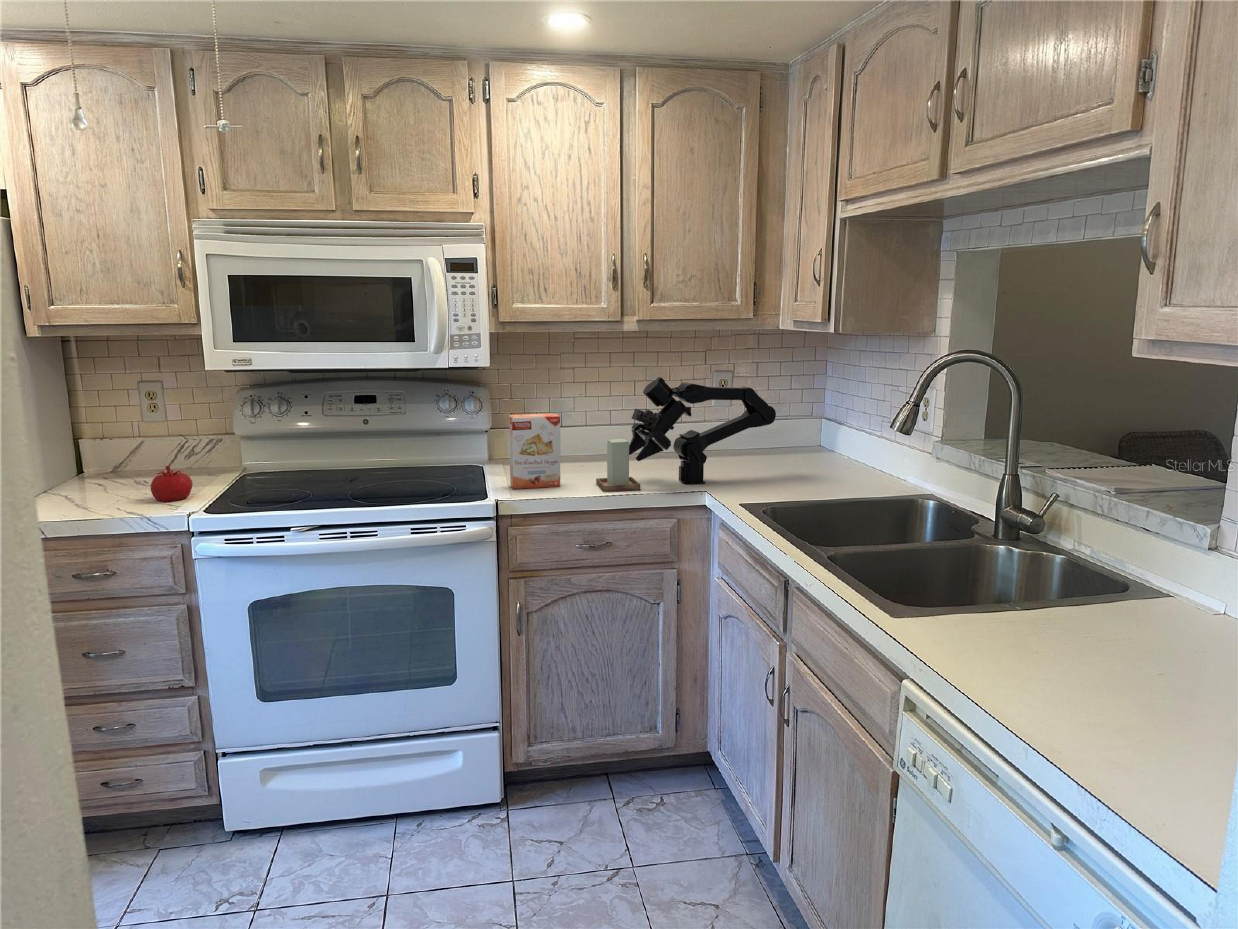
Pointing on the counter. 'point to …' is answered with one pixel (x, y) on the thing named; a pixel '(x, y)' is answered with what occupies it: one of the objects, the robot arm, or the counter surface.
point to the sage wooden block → (617, 462)
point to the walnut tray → (605, 487)
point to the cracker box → (534, 450)
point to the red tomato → (171, 486)
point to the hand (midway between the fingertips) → (631, 457)
